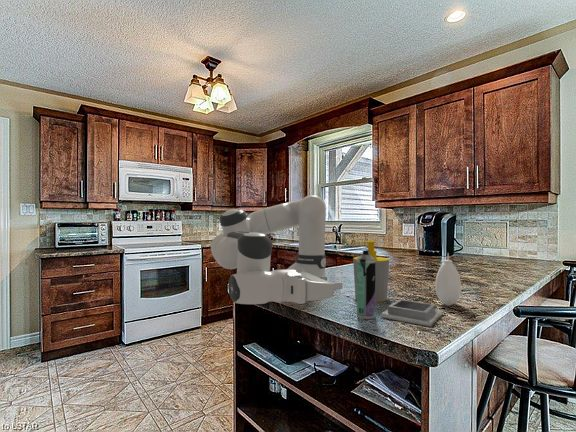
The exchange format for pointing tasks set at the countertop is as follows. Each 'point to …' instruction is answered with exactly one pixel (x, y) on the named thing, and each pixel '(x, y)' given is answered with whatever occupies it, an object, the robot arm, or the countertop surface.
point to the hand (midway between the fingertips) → (333, 282)
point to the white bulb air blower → (448, 283)
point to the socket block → (412, 312)
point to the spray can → (366, 286)
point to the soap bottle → (376, 273)
